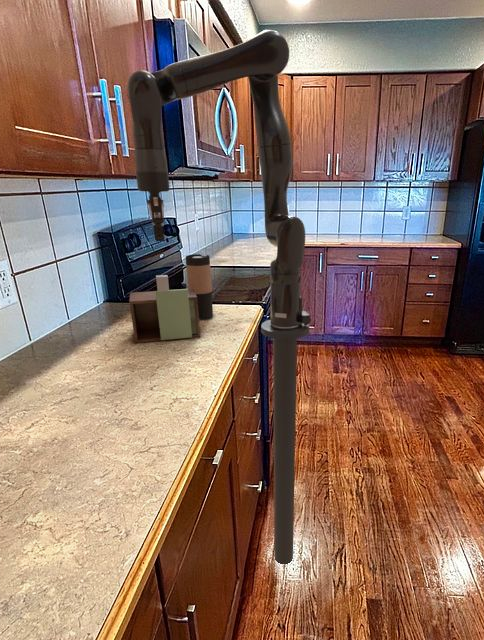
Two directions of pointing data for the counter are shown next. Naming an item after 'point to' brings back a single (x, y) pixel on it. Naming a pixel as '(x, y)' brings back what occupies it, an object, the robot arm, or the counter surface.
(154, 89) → the robot arm
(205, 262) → the travel mug
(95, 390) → the counter surface
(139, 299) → the cabinet
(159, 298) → the sliding door
